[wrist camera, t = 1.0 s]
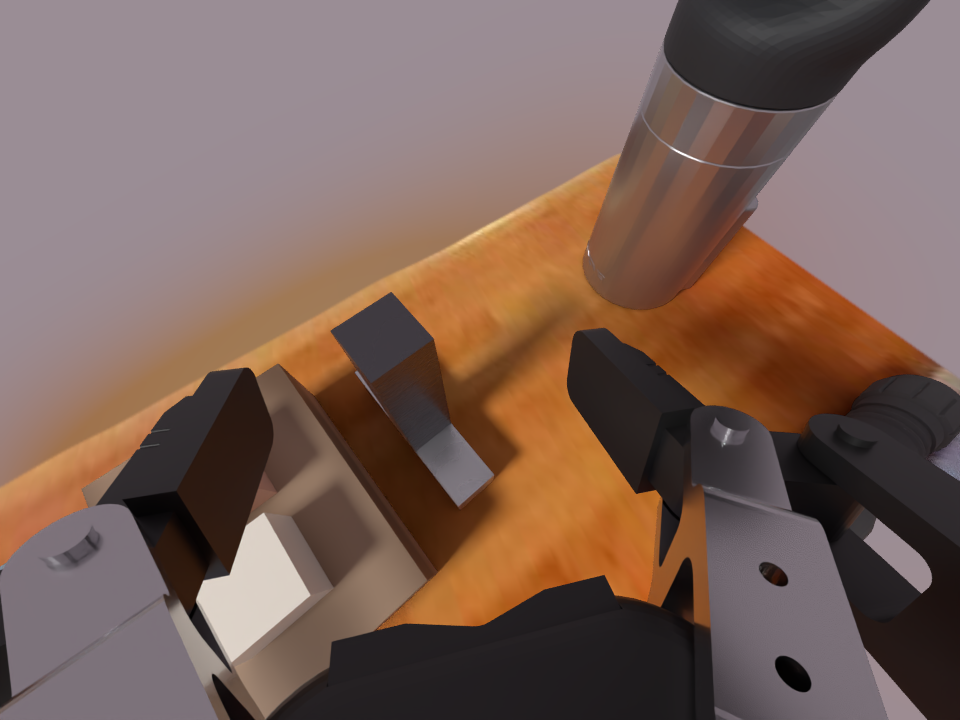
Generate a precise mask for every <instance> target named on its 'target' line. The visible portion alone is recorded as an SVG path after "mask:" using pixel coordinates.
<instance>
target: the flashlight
mask: <svg viewBox="0 0 960 720" xmlns="http://www.w3.org/2000/svg"><path fill="white" fill-rule="evenodd" d="M846 417H850V418H853V419H856V420H859V421H862V422H865V423H867V424H869V425H871V426H873V427H875V428H877V429H879V430H881V431H883V432H884V433H886V434H887V435H889V436H890V437H892V438H894V439H895V440H897V441H898V442H900V443H901V444H903V445H904V446H906V447H907V448H909V449H911V450H912V451H914V452H915V453H917V454H918V455H920V456H921V457H923V458H924V459H925V458H926V457H927V456H928V455H929V454H931V453H932V452H935V451H939V450H941V449H942V448H945V447H946V446H947V445H948V444H949V443H950V442H951V441H952V440H953V439H954V438H955V437H956V436H957V435H958V434H959V432H960V396H959V395H958V394H957V393H956V392H955V391H954V390H953V389H951V388H950V387H948V386H947V385H945V384H943V383H941V382H939V381H936V380H934V379H931V378H927V377H923V376H918V375H896V376H892V377H889V378H884V379H881V380H878V381H876V382H874V383H872V384H871V385H870V386H869V387H868V388H867V389H866V390H865V391H864V392H863V393H861V394H860V396H859V397H858V398H857V399H856V400H855V401H854V402H853V405H852V409H851V410H850V412H849V413H848V414H847V415H846ZM875 520H876V517H875V516H874V515H873V514H872V513H870V512H869V511H868V510H867V509H866V508H865V509H864V510H863V511H862V512H861V514H860V515H859V516H858V517H857V518H856V520H855V521H854V522H853V523H852V525H851V526H850V527H849V528H850V529H851V530H852V531H853V532H854V533H855V534H857V535H858V536H859V537H860V538H861V539H862V540H864V539H865V538H866V537H867V536H868V535H869V534H870V533H871V531H872V529H873V527H874V523H875Z"/></svg>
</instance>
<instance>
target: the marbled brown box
mask: <svg viewBox="0 0 960 720" xmlns="http://www.w3.org/2000/svg"><path fill="white" fill-rule="evenodd" d="M256 380H257V383H258V385H259V388H260V390H261V393H262V396H263V398H264V401H265V404H266V406H267V409H268V412H269V414H270V417H271V420H272V424H273V431H274V438H273V445H272V448H271V451H270V454H269V457H268V460H267V463H266V466H265V469H264V471H265V473H266V474H267V476H268V478H269V479H270V481H271V483H272V484H273V486H274V488H275V490H276V491H277V494H275V495H274V496H272V497H271V498H270V499H268V500H267V501H266V502H264V503H263V504H262V505H260V506H259V507H258V508H256V509H255V510H254V511H252V512H251V513H250V515H249V518H248V521H247V524H246V525H248V524H249V523H250V522H252V521H253V520H254V519H256V518H257V517H258V516H260V515H261V514H262V513H271V514H278V515H284V516H291V517H292V518H293V520H294V522H295V523H296V525H297V527H298V529H299V530H300V532H301V534H302V535H303V537H304V539H305V540H306V542H307V544H308V545H309V547H310V549H311V550H312V552H313V554H314V556H315V557H316V559H317V561H318V562H319V564H320V566H321V567H322V569H323V571H324V572H325V574H326V576H327V578H328V579H329V581H330V583H331V584H332V586H333V589H332V590H331V591H330V592H329V593H327V594H326V595H325V596H324V597H323V598H322V599H320V600H319V601H318V602H317V603H316V604H315V605H314V606H312V607H311V608H310V609H309V610H308V611H307V612H305V613H304V614H303V615H302V616H301V617H300V618H298V619H297V620H296V621H295V622H294V623H293V624H291V625H290V626H289V627H288V628H287V629H286V630H284V631H283V632H282V633H281V634H280V635H279V636H278V637H276V638H275V639H274V640H273V641H272V642H271V643H269V644H268V645H267V646H266V647H265V648H264V649H262V650H261V651H260V652H259V653H258V654H257V655H255V656H254V657H253V658H252V659H250V660H248V661H246V662H244V663H242V664H240V665H238V666H236V667H234V668H235V670H236V672H237V673H238V675H239V677H240V679H241V681H242V683H243V684H244V686H245V688H246V689H247V691H248V692H249V694H250V696H251V697H252V698H253V700H254V701H255V703H256V705H257V706H258V708H259V709H260V711H261V713H262V714H263V716H264V717H265V719H266V718H267V717H268V716H269V715H270V713H271V712H272V711H273V710H274V709H275V708H276V707H277V706H278V705H279V704H280V703H281V702H282V701H284V700H285V699H286V698H287V697H288V696H289V695H291V694H292V693H293V692H294V691H295V690H296V689H297V688H299V687H300V686H301V685H303V684H304V683H305V682H307V681H308V680H310V679H311V678H313V677H314V676H315V675H317V674H318V673H320V672H322V671H323V670H325V669H327V668H329V665H330V654H331V643H332V641H336V640H340V639H345V638H349V637H353V636H357V635H361V634H365V633H369V632H373V631H376V630H377V629H378V628H379V627H380V626H381V625H382V624H383V623H384V622H385V621H386V620H388V619H389V618H390V617H391V616H392V615H393V614H394V613H395V612H396V611H397V610H398V609H399V608H400V607H401V606H403V605H404V604H405V603H406V602H407V601H408V600H409V599H410V598H411V597H412V596H413V595H414V594H415V593H417V592H418V591H419V590H420V589H421V588H422V587H423V586H424V585H425V584H426V583H427V582H428V581H429V580H430V579H432V578H433V577H434V576H435V575H436V574H437V573H438V572H437V570H436V569H435V568H434V566H433V565H432V563H431V562H430V561H429V559H428V558H427V556H426V555H425V553H424V552H423V551H422V549H421V548H420V546H419V545H418V543H417V542H416V541H415V539H414V538H413V536H412V535H411V533H410V532H409V531H408V529H407V528H406V526H405V525H404V523H403V522H402V521H401V519H400V518H399V516H398V515H397V514H396V512H395V511H394V509H393V508H392V506H391V505H390V504H389V502H388V501H387V499H386V498H385V496H384V495H383V494H382V492H381V491H380V489H379V488H378V486H377V485H376V484H375V482H374V481H373V479H372V478H371V477H370V475H369V474H368V472H367V471H366V469H365V468H364V467H363V465H362V464H361V462H360V461H359V459H358V458H357V457H356V455H355V454H354V452H353V451H352V449H351V448H350V447H349V445H348V444H347V442H346V441H345V439H344V438H343V437H342V435H341V434H340V432H339V431H338V430H337V428H336V427H335V425H334V424H333V422H332V421H331V420H330V418H329V417H328V415H327V414H326V412H325V411H324V410H323V408H322V407H321V405H320V404H319V402H318V401H317V400H316V398H315V397H314V396H313V395H312V394H311V393H310V392H309V391H308V390H307V389H306V388H305V387H304V386H302V385H301V384H300V383H299V382H298V381H297V380H296V379H295V378H294V377H293V376H291V375H290V374H289V373H288V372H287V371H286V370H285V369H284V368H283V367H282V366H280V365H279V364H277V365H275V366H274V367H272V368H270V369H269V370H267V371H266V372H264V373H263V374H261V375H259V376H258V377H256ZM129 460H130V458H129V459H128V460H126V461H125V462H123V463H122V464H120V465H119V466H117V467H115V468H114V469H112V470H111V471H109V472H108V473H106V474H104V475H103V476H101V477H100V478H98V479H97V480H95V481H93V482H92V483H90V484H89V485H87V486H86V487H84V488H82V492H83V494H84V497H85V500H86V502H87V505H88V507H93V506H96V504H97V503H98V502H99V500H100V499H101V498H102V496H103V495H104V494H105V492H106V491H107V489H108V488H109V487H110V485H111V484H112V483H113V481H114V480H115V479H116V477H117V476H118V475H119V473H120V472H121V471H122V469H123V468H124V466H125V465H126V464H127V462H128V461H129Z"/></svg>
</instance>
